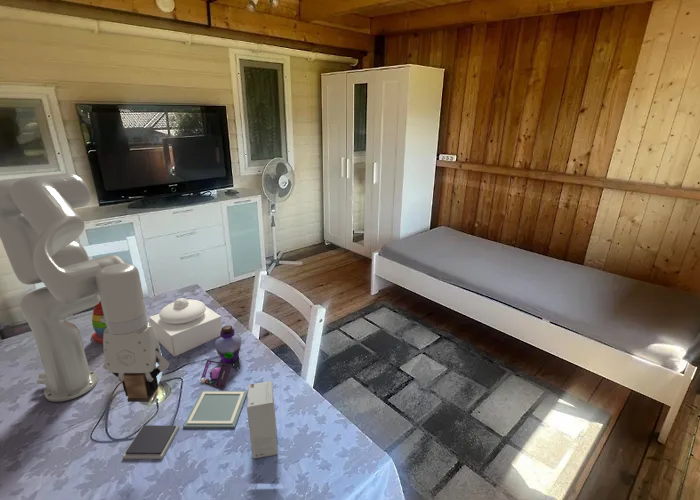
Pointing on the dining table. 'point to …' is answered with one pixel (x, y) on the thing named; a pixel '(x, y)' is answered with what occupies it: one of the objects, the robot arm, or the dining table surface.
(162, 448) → the ink pad
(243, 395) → the board
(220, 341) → the potion bottle
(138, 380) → the stamp
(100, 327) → the stacking bear
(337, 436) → the dining table surface
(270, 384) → the skincare box
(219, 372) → the purple toy box
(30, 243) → the robot arm
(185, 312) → the butter dish
